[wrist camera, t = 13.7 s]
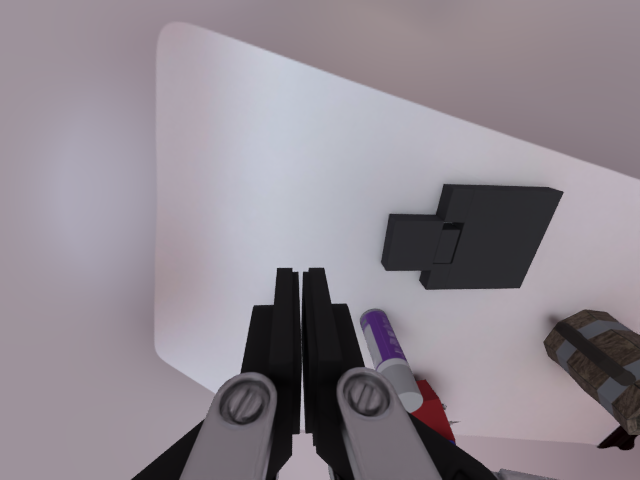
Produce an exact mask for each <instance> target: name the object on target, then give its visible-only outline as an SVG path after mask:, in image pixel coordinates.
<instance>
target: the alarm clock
mask: <svg viewBox="0 0 640 480" xmlns="http://www.w3.org/2000/svg"><path fill="white" fill-rule="evenodd" d="M416 383H417V386H418V388H419V390H420V393H421V395H422V397H423V403H422V405H421V406H420V407H419V408H418V409H417V410H416V411H414V412H412V413H411V414H412V415H414V416H415V417H416V418H418V419H419V420H421V421H422V422H423V423H425V424H426V425H428V426H429V427H431V428H432V429H433V430H435V431H436V432H438V433H439V434H441V435H442V436H443V437H445V438H446V439H448V440H449V441H451V442H452V443H453V444H455V445H456V443H455V438H454V435H453V433H452V430H451V427H450V425H451V424H453V423H458V422H457V421H456V422H452V421H450V422H448V420H447V417H446V414H445V412H444V410H445V409H446V407H447V406H446V405H444V404H441V401H440V399H439V397H438V396H437V395H436V393H435V392H434V390H433V389H432V388H431V386H430V385H429V383H428V382H427V381H426V379H425V380H420V381H416ZM460 422H461V421H460Z"/></svg>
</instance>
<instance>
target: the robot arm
mask: <svg viewBox="0 0 640 480" xmlns="http://www.w3.org/2000/svg"><path fill="white" fill-rule="evenodd" d="M301 341H302V347H301ZM302 365H303V388H304V412H305V432H306V434H307V433H312V434H313V446H316V453H317V454H318V455H319V456H320V457H321V458H322V459H323V460H324V461H325V462H326V463H327V464H328V470H329V475H330V479H331V480H557V479H552V478H547V477H542V476H537V475H531V474H526V473H521V472H516V471H511V470H506V469H500V471H499V472H493V471H490V470H489V469H488V468H486V467H485V466H484V465H483V464H482V463H480V462H479V461H478V460H476V459H475V458H473V457H472V456H470V455H469V454H468V453H466V452H465V451H463V450H462V449H460V448H459V447H458V446H456V445H455V444H453V443H452V442H451V441H449V440H448V439H446V438H445V437H443V436H442V435H441V434H439V433H438V432H436V431H435V430H433V429H432V428H431V427H429V426H428V425H426V424H425V423H423V422H422V421H421V420H419V419H418V418H416V417H415V416H414V415H412V414H411V413H409V412H408V411H406V410H405V408H404V406H403V404H402V402H401V400H400V398H399V396H398V395H397V393H396V391H395V389H394V387H393V386H392V384H391V383H390V381H389V380H388V379H387V378H386V377H385V376H384V375H382V374H381V373H379V372H377V371H375V370H373V369H370V368H366V367H365V365H364V361H363V358H362V354H361V351H360V347H359V344H358V340H357V337H356V333H355V330H354V326H353V322H352V319H351V315H350V312H349V308H348V306H347V304H331V299H330V294H329V289H328V285H327V280H326V275H325V270H324V268H309V272H303V287H302V321H301V323H300V299H299V275H298V272H292V268H277V276H276V287H275V298H274V305H254V307H253V311H252V316H251V321H250V326H249V331H248V337H247V342H246V347H245V352H244V357H243V363H242V368H241V373H240V374H239V375H236V376H234V377H233V378H231V379H229V380H228V381H226V382H225V383H224V384H223V385H222V386H221V387H220V388H219V390H218V392H217V393H216V395H215V397H214V399H213V401H212V404H211V406H210V409H209V411H208V413H207V415H206V418H205V419H204V420H203V421H201V422H200V423H199V424H198V425H197V426H195V427H194V428H193V429H192V430H191V431H189V432H188V433H187V434H186V435H184V436H183V437H182V438H181V439H180V440H178V441H177V442H176V443H175V444H174V445H172V446H171V447H170V448H169V449H168V450H166V451H165V452H164V453H163V454H161V455H160V456H159V457H158V458H157V459H155V460H154V461H153V462H152V463H151V464H149V465H148V466H147V467H146V468H145V469H144V470H142V471H141V472H140V473H138V474H137V475H136V476H135V477H134V478H132V479H131V480H278V477H279V470H280V469H281V468H282V467H283V465H284V464H285V463H286V462H287V461H288V459H289V458H290V457H291V456H292V435H293V434H300V407H301V377H302Z"/></svg>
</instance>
